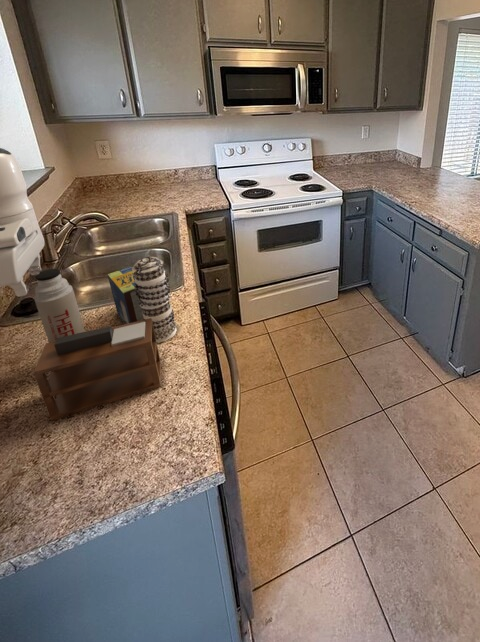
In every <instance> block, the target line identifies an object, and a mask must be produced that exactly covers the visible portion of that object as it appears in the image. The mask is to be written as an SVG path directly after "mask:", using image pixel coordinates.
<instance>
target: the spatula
mask: <svg viewBox="0 0 480 642" xmlns="http://www.w3.org/2000/svg"><path fill="white" fill-rule="evenodd" d="M112 327H113V326H112V325H107V326H103V327H98V328H95V329H90V330H85V332H81V333H77V334H73V335H69V336H64V337H60V338H57V339H56V342H55V344H54V346H55V349H56V352H57V355H61V354H65V353H69V352H73V351H77V350H81V349H85V348H89V347H93V346H97V345H101V344H105V343H109V342H112V343H111V345H112V346H115V345H119V344H123V343H127V342H131V341H135V340H138V339H142V338H145V322H142V323H138V324H134V325H130V326H125V327H121V328H117V329H114V332H113V331H112Z"/></svg>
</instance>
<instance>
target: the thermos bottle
mask: <svg viewBox="0 0 480 642" xmlns="http://www.w3.org/2000/svg"><path fill="white" fill-rule="evenodd" d="M35 279H36V281H37V286H35V289H34V293H35V296H34V297H33V299H34V303H35V306H36V309H37V312H38V315H39V318H40V320H41V324H42V326H43V330H44V333H45V335H46V338H47V341H48V343H49V342H53V341H56V339H57V338H60V337H64V336H69V335H73V334H77V333H81V332H86V329H85V326H84V322H83V318H82V314H81V312H80V309H79V304H78V302H77V299H76V294H75V291H74V287H73V286H72V285H71V284H70V283H69V282H68V280H67V279H66V278H64V277H62V275H61V270H60V269H59V268H48V269H45V270H41V272H40V273H39V274H38V275H35Z"/></svg>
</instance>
